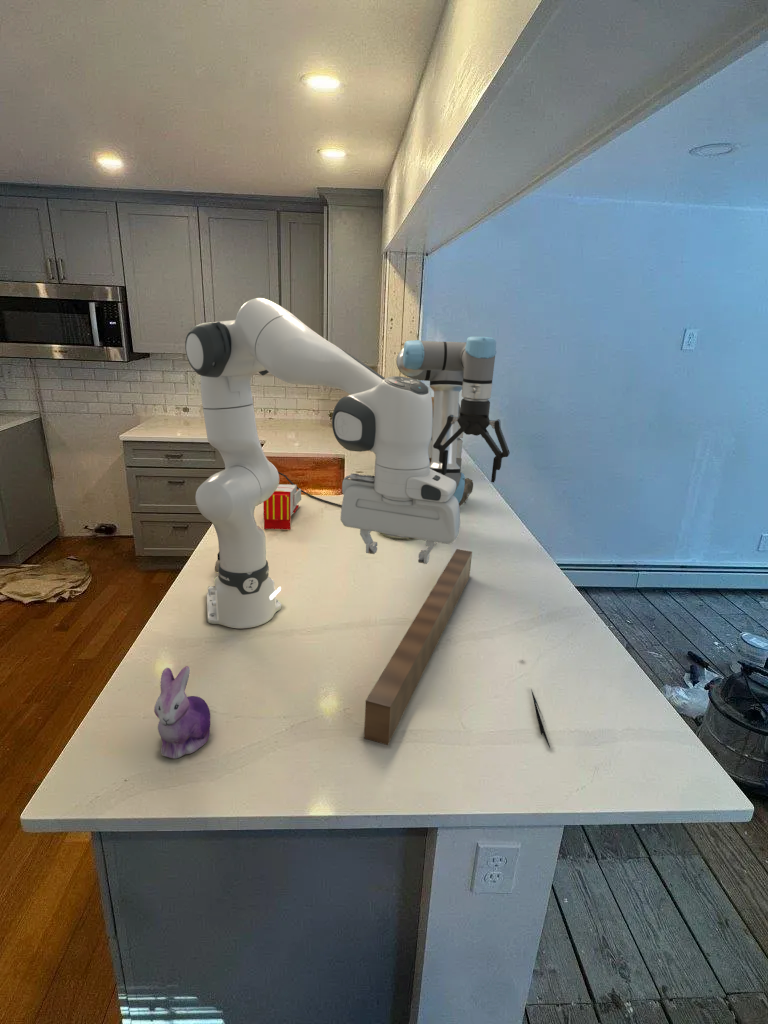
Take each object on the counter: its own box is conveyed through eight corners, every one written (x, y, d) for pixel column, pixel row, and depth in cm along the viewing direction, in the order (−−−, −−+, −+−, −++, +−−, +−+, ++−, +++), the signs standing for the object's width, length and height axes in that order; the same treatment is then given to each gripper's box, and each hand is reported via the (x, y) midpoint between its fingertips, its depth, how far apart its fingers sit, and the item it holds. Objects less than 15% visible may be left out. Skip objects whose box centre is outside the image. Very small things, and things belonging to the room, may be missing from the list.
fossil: (437, 484, 244) (466, 465, 239) (450, 500, 247) (479, 482, 242) (436, 505, 224) (468, 485, 219) (450, 523, 227) (482, 504, 222)
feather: (522, 665, 130) (528, 659, 129) (549, 752, 103) (556, 745, 103) (516, 662, 130) (522, 655, 129) (542, 747, 103) (549, 740, 103)
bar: (454, 574, 171) (456, 548, 168) (469, 577, 170) (472, 551, 167) (363, 738, 104) (365, 700, 102) (388, 745, 103) (390, 707, 100)
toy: (303, 479, 223) (293, 493, 194) (302, 513, 226) (293, 531, 196) (272, 479, 223) (257, 492, 193) (272, 512, 225) (258, 530, 196)
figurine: (162, 769, 95) (153, 695, 90) (154, 730, 104) (146, 661, 99) (219, 752, 99) (214, 680, 94) (207, 716, 108) (202, 648, 103)
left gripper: (335, 476, 93) (334, 553, 97) (457, 494, 87) (450, 575, 91) (349, 467, 98) (348, 540, 103) (466, 483, 92) (458, 560, 97)
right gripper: (425, 396, 147) (420, 475, 154) (523, 405, 140) (512, 487, 147) (432, 393, 154) (427, 468, 161) (526, 401, 147) (516, 480, 154)
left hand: (397, 557), depth 97 cm, fingers open, 8 cm apart
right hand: (468, 477), depth 154 cm, fingers open, 13 cm apart
